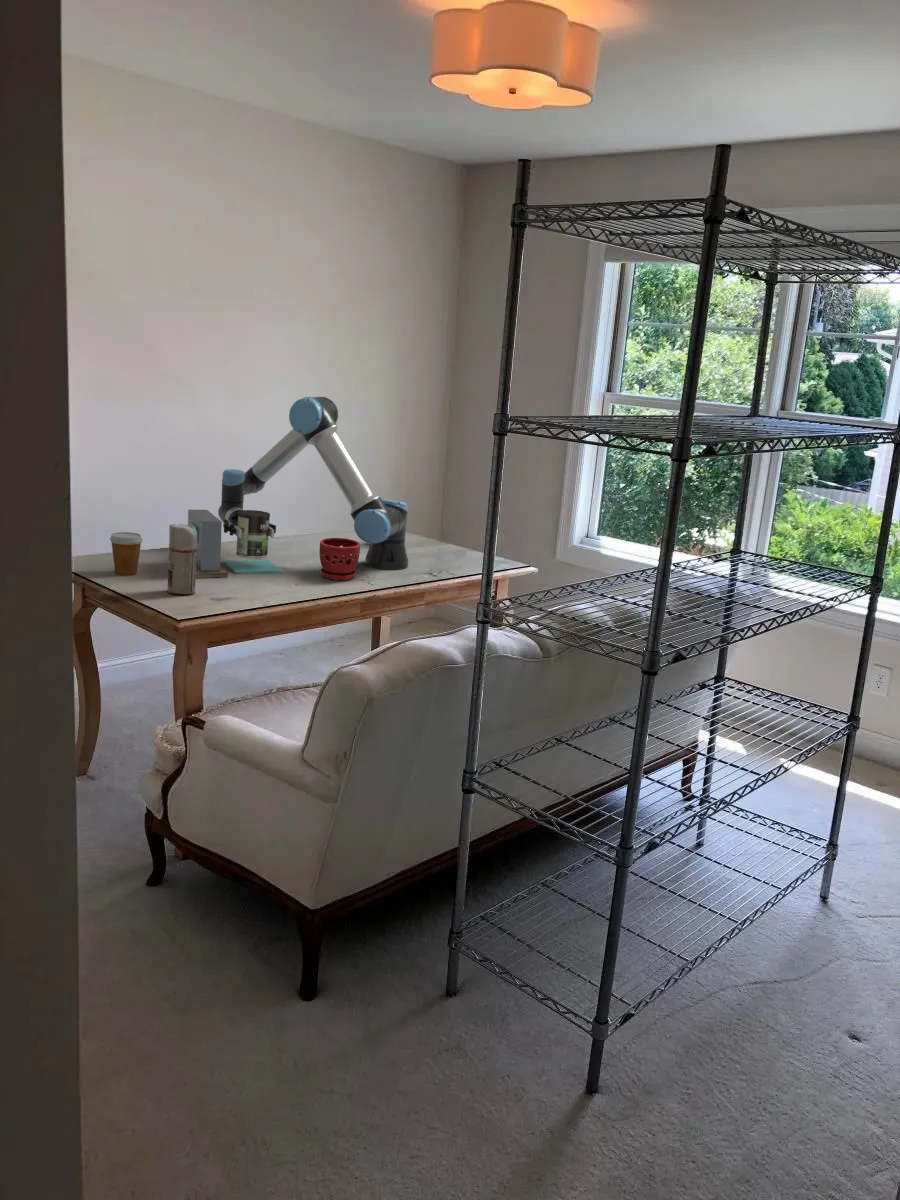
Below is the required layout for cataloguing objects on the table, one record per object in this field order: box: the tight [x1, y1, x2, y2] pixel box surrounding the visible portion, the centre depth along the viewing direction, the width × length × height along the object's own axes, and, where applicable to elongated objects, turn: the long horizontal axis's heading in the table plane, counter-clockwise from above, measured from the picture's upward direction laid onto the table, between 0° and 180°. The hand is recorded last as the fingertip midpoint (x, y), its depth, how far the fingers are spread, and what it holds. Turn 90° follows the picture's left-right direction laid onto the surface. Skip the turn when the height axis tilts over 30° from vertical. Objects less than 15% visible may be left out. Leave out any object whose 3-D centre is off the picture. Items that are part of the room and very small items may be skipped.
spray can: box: [166, 523, 197, 595], centre depth 285 cm, size 8×8×20 cm
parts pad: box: [223, 559, 282, 574], centre depth 324 cm, size 15×15×1 cm
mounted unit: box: [187, 509, 229, 579], centre depth 315 cm, size 24×10×18 cm, turn 26°
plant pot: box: [319, 537, 361, 581], centre depth 322 cm, size 13×13×12 cm
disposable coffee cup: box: [109, 531, 143, 577], centre depth 302 cm, size 10×10×12 cm
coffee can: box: [235, 509, 271, 559], centre depth 322 cm, size 10×10×14 cm
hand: (256, 533), depth 318 cm, fingers closed on coffee can, 10 cm apart
